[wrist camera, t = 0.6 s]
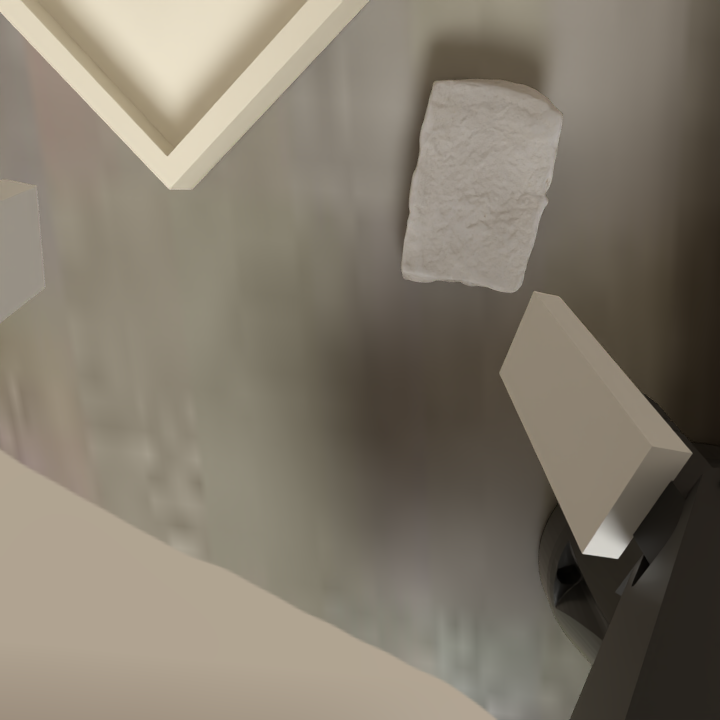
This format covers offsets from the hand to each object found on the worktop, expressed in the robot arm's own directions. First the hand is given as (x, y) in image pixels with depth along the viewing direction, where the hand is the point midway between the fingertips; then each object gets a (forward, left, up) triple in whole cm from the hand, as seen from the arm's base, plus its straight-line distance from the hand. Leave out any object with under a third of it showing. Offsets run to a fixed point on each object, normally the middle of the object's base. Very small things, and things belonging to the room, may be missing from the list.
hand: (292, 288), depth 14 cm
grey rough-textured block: (-3, -7, -14) cm, 16 cm away
